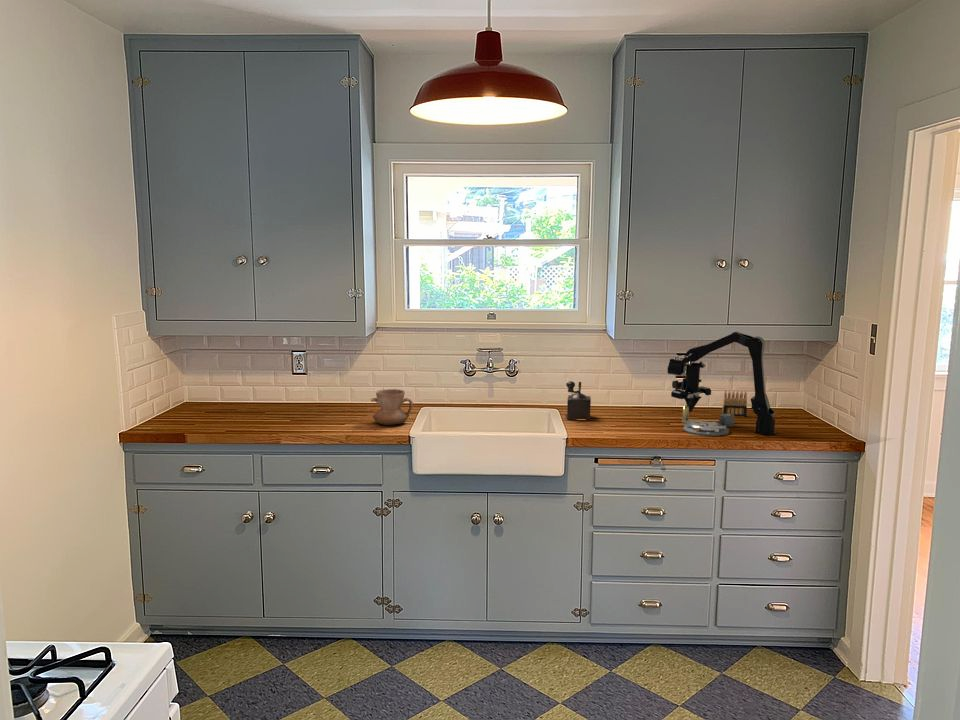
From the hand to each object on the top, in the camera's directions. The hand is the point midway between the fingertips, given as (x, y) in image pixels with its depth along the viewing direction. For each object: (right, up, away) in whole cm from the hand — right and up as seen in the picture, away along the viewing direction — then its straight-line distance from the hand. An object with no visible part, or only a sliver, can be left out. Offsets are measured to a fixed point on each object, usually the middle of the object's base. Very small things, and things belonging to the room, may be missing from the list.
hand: (689, 412), depth 300 cm
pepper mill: (-47, -4, +10) cm, 48 cm away
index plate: (+3, -7, -11) cm, 13 cm away
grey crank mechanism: (+2, -5, -9) cm, 11 cm away
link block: (+15, -6, -2) cm, 16 cm away
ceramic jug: (-129, -5, 0) cm, 129 cm away
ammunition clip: (+25, -3, +17) cm, 31 cm away
